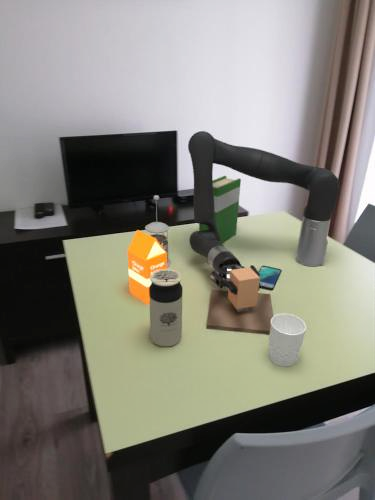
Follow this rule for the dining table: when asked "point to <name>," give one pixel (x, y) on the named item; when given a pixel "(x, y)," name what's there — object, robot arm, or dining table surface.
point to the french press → (159, 228)
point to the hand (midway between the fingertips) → (247, 289)
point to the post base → (239, 314)
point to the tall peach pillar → (244, 287)
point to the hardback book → (225, 207)
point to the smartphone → (269, 277)
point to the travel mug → (165, 307)
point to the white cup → (285, 339)
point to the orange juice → (144, 263)
